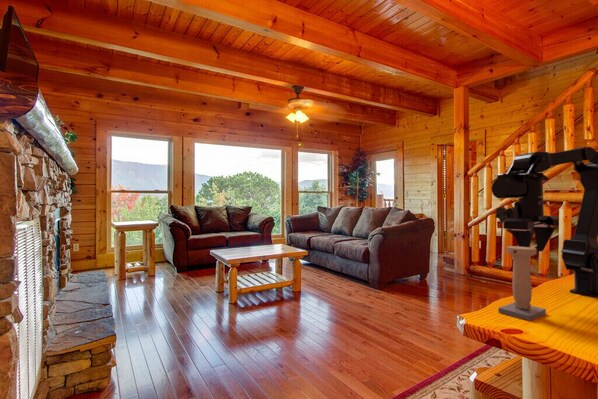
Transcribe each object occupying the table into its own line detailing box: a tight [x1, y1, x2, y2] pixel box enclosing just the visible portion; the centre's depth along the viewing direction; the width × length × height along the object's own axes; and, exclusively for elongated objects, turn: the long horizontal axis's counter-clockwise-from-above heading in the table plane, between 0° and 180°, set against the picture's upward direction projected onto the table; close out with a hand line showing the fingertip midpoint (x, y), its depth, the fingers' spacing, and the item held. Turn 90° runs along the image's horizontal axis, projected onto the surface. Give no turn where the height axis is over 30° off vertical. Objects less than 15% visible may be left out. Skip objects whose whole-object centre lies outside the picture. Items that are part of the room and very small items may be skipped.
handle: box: [505, 245, 537, 310], centre depth 82 cm, size 5×6×15 cm
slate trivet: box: [497, 302, 547, 322], centre depth 81 cm, size 8×7×1 cm
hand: (532, 252), depth 92 cm, fingers open, 9 cm apart
